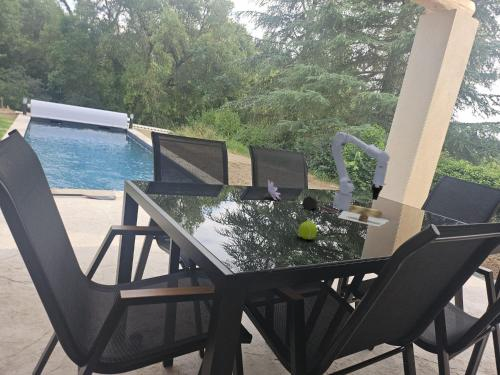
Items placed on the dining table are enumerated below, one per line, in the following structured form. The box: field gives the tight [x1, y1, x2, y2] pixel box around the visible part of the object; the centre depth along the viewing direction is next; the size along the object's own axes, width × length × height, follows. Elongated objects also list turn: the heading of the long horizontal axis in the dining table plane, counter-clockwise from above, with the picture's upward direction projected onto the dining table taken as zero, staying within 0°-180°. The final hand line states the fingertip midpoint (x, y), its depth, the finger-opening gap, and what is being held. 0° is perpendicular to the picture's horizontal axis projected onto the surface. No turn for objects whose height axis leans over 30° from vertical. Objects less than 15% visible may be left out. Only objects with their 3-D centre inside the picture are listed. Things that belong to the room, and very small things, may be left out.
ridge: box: [359, 215, 368, 223], centre depth 194 cm, size 4×8×3 cm, turn 159°
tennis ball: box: [298, 220, 318, 241], centre depth 148 cm, size 7×7×7 cm
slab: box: [337, 210, 389, 228], centre depth 198 cm, size 24×22×1 cm
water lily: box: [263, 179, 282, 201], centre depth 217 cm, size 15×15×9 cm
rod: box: [347, 204, 383, 219], centre depth 193 cm, size 16×3×3 cm, turn 69°
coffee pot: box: [302, 195, 338, 214], centre depth 204 cm, size 8×18×8 cm
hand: (374, 198), depth 209 cm, fingers open, 7 cm apart
